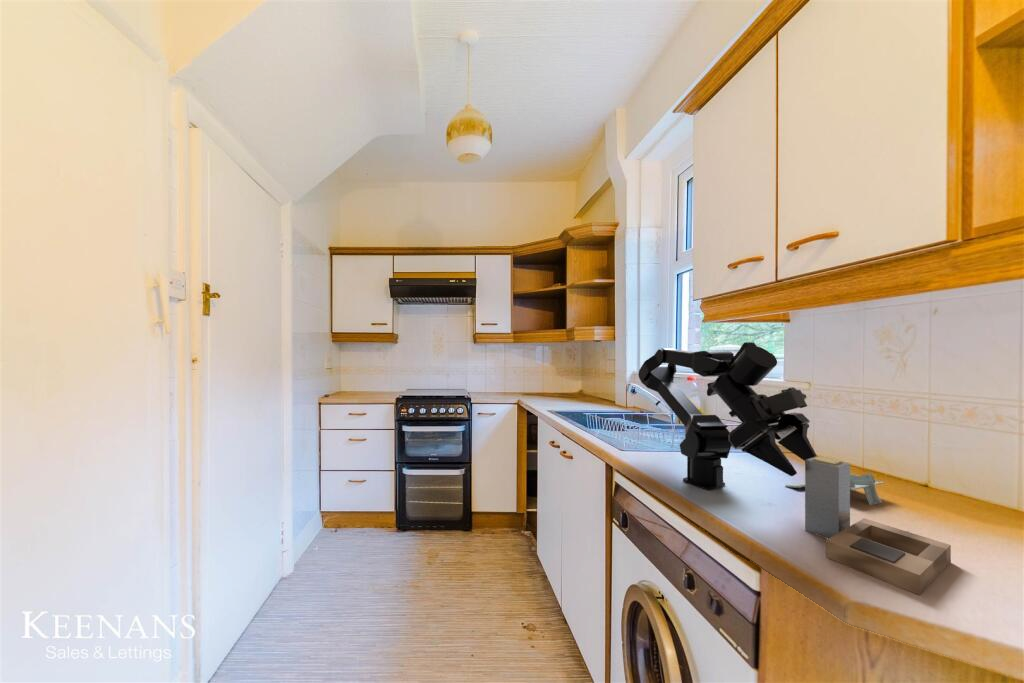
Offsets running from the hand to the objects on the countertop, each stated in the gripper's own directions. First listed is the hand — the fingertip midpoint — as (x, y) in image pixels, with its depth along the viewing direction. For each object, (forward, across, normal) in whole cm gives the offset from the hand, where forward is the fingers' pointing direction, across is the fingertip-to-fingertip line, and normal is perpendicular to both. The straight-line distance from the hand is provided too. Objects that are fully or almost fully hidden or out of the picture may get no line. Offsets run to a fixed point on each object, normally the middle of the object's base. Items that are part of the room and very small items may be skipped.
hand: (807, 470), depth 64 cm
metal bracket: (+4, +24, +10) cm, 27 cm away
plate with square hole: (+14, -1, -1) cm, 14 cm away
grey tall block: (+9, 0, +5) cm, 10 cm away
